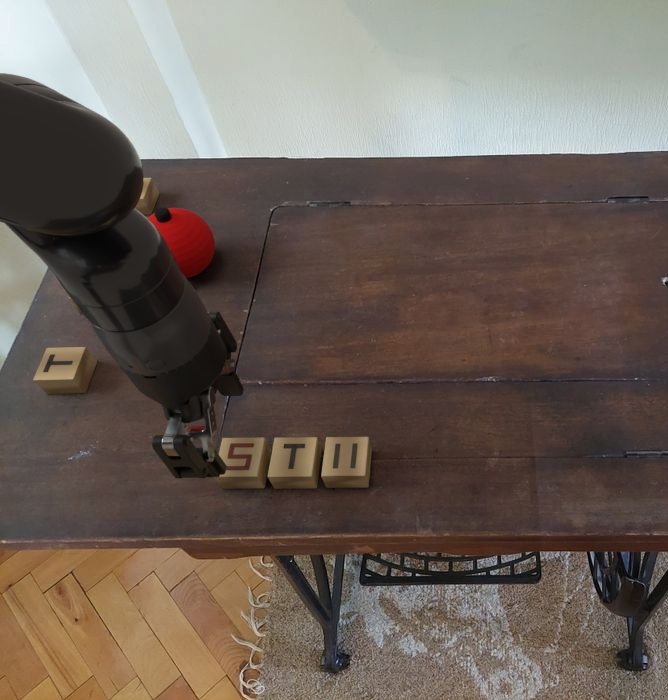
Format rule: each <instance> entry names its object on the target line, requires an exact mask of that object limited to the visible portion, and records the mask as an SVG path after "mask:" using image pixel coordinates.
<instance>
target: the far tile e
mask: <svg viewBox="0 0 668 700" xmlns="http://www.w3.org/2000/svg"><path fill="white" fill-rule="evenodd" d="M159 195H160V192H159V190H158V188H157V186H156V184H155V182H154V180H153V178H152V177H143V190H142V194H141V197H140V199H139V202H138V204H137V205H136V207H135V209H136V210H138V211H139V212H140V213H142V214H143V215H144V216H151V215H152V214H153V213H154V210H155V206H156V204H157V201H158V199H159Z"/></svg>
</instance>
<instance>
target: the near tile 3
mask: <svg viewBox="0 0 668 700" xmlns="http://www.w3.org/2000/svg"><path fill="white" fill-rule="evenodd" d="M372 451H373V448H372V445H371V441H370V437H369V436H326V438H325V443H324V452H323V458H322V466H321V478H322V481H323V484H324V486H325V488H326V489H345V488H347V489H348V488H349V489H353V488H357V489H358V488H363V489H364V488H369V487H370V477H371V467H372V465H371V463H372V455H373V452H372Z"/></svg>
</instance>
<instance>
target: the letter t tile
mask: <svg viewBox="0 0 668 700" xmlns="http://www.w3.org/2000/svg"><path fill="white" fill-rule="evenodd" d="M97 364H98V360H97V359H96V358H95V356H94V355H93V354H92V353H91V352H90V350H89V349H88V348H87V347H86V346H72V347H71V346H69V347H46V348H45V350H44V354H43V356H42V358H41V360H40V363H39V365H38V367H37V369H36V372H35V374H34V377H33V379H32V381H33V382H34V383H35V384H36V385H37V386H38V387H39V388H40V389H41V390H42V391H43V392H44V393H45V394H46V395H64V394H65V395H66V394H68V395H69V394H86V393H87V391H88V388H89V386H90V383H91V381H92V378H93V374H94V372H95V369H96V367H97Z"/></svg>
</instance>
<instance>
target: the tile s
mask: <svg viewBox="0 0 668 700" xmlns="http://www.w3.org/2000/svg"><path fill="white" fill-rule="evenodd" d="M272 450H273V449H272V448H271V446H270V445H269V443H268V441H267V439H266V437H222V438H221V443H220V447H219V451H218V454H219V456H220V457H221V459H222V460H223V461H224V463H225V464H226V466H227V468H226V472H225V474H223V475H220V476H219V477H213V479H214V480H215V481H216V482H217V483H218V485H219V487H220V488H221V489H222V490H223V489H226V490H227V489H228V490H229V489H232V490H233V489H234V490H235V489H265V487H266V482H267V478H268V471H269V466H270V460H271V455H272Z"/></svg>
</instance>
